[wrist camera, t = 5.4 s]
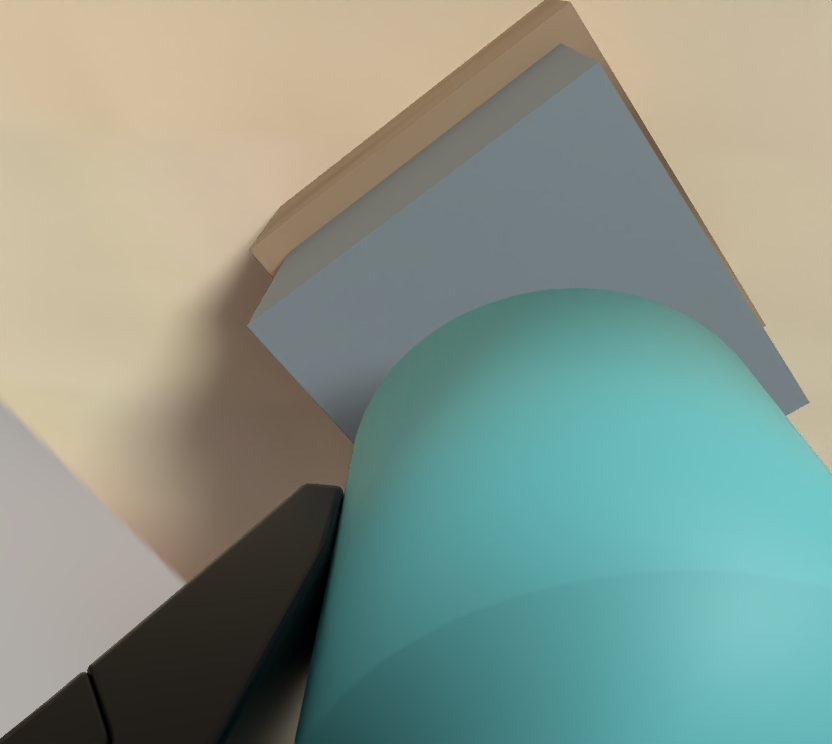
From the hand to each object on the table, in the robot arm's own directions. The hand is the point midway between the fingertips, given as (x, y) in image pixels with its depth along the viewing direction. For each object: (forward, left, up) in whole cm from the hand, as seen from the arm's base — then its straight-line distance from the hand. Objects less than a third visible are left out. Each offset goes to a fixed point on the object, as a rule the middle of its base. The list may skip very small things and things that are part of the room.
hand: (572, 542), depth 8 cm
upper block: (0, 0, -7) cm, 7 cm away
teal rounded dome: (0, 0, -1) cm, 1 cm away
